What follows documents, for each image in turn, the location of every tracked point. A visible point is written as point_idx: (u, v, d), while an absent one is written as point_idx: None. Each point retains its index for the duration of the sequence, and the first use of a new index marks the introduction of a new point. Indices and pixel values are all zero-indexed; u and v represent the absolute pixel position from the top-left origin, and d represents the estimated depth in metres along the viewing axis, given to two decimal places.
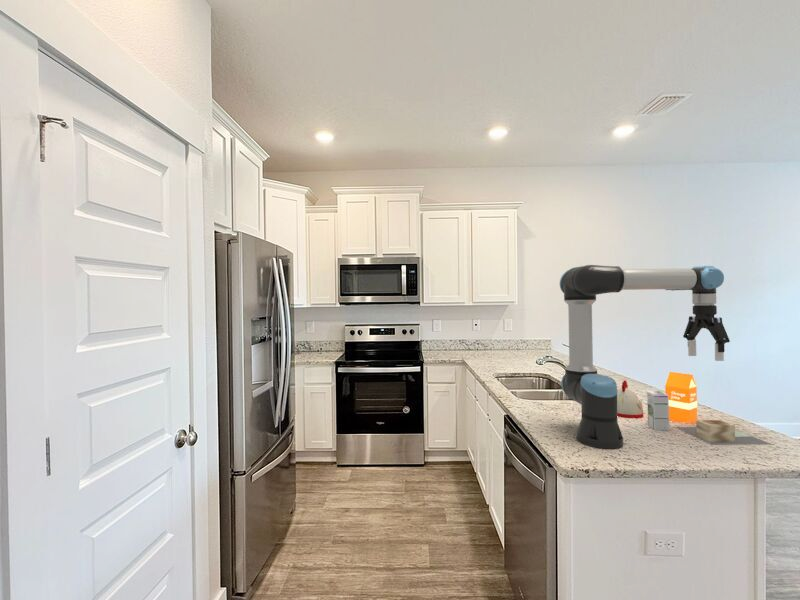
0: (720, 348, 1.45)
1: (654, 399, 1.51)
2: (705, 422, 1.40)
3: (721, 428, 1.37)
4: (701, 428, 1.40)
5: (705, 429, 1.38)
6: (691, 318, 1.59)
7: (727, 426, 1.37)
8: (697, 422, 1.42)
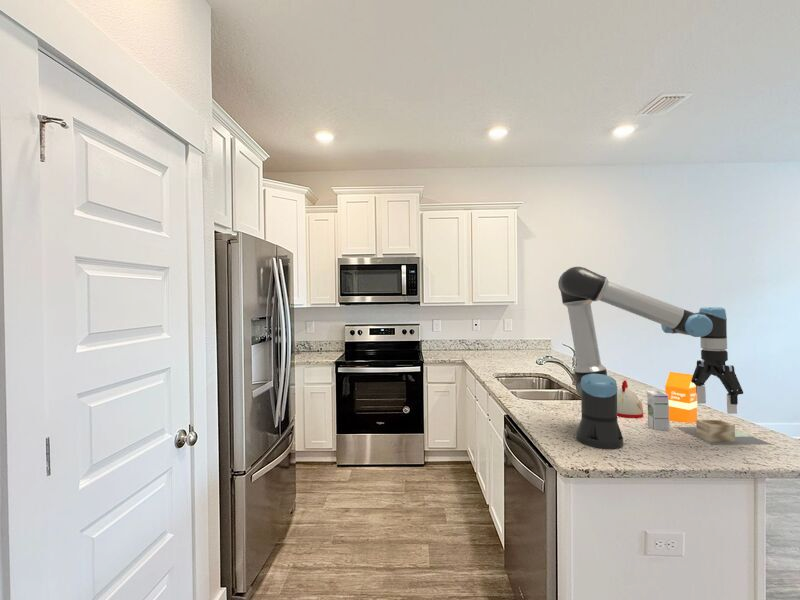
0: (733, 400, 1.32)
1: (654, 399, 1.51)
2: (705, 422, 1.40)
3: (721, 428, 1.37)
4: (701, 428, 1.40)
5: (705, 429, 1.38)
6: (699, 362, 1.46)
7: (727, 426, 1.37)
8: (697, 422, 1.42)
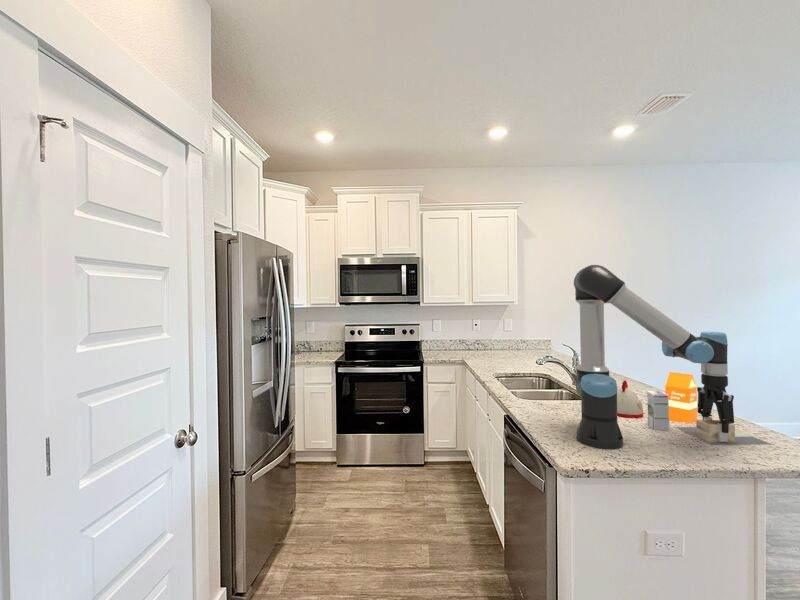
0: (724, 429, 1.35)
1: (654, 399, 1.51)
2: (705, 422, 1.40)
3: None
4: (701, 428, 1.40)
5: (705, 429, 1.38)
6: (700, 389, 1.45)
7: None
8: (697, 422, 1.42)
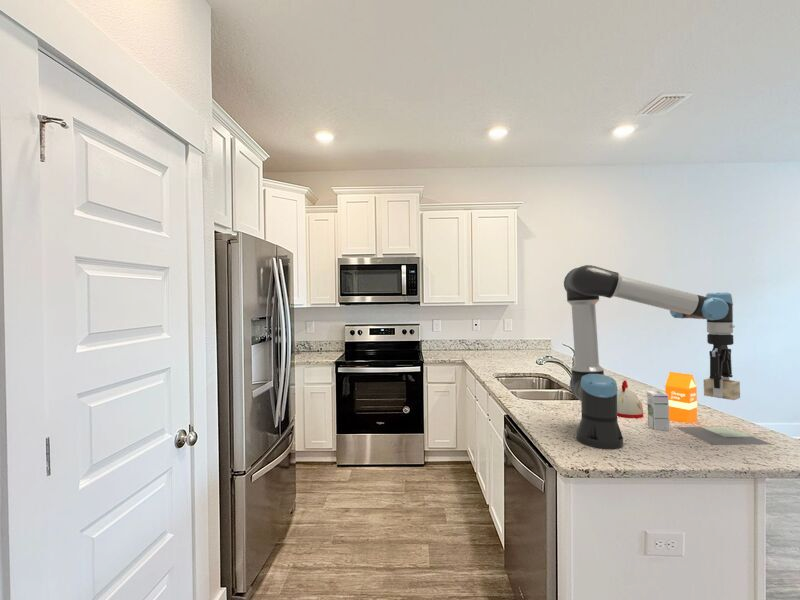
0: (714, 384, 1.42)
1: (654, 399, 1.51)
2: (710, 379, 1.47)
3: None
4: None
5: None
6: None
7: (724, 383, 1.40)
8: None
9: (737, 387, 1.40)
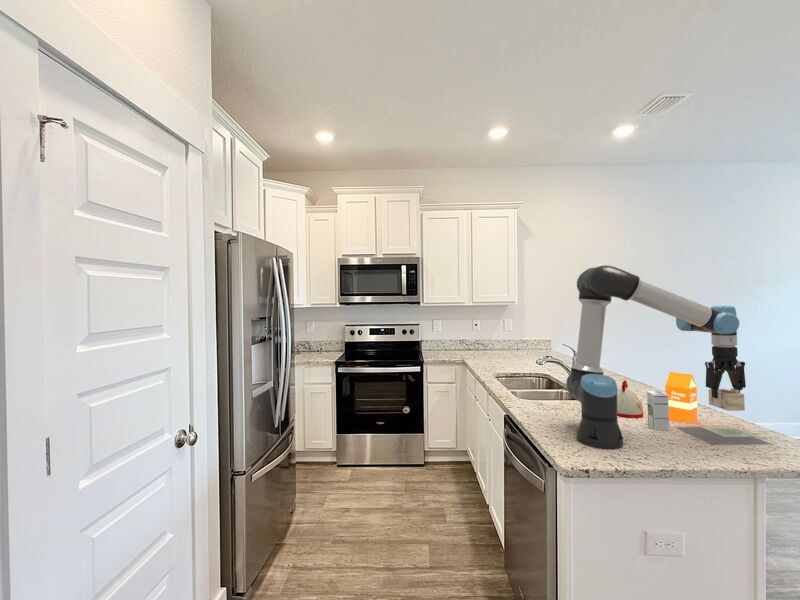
0: None
1: (654, 399, 1.51)
2: (718, 389, 1.51)
3: None
4: None
5: None
6: None
7: (722, 394, 1.45)
8: None
9: (736, 399, 1.43)
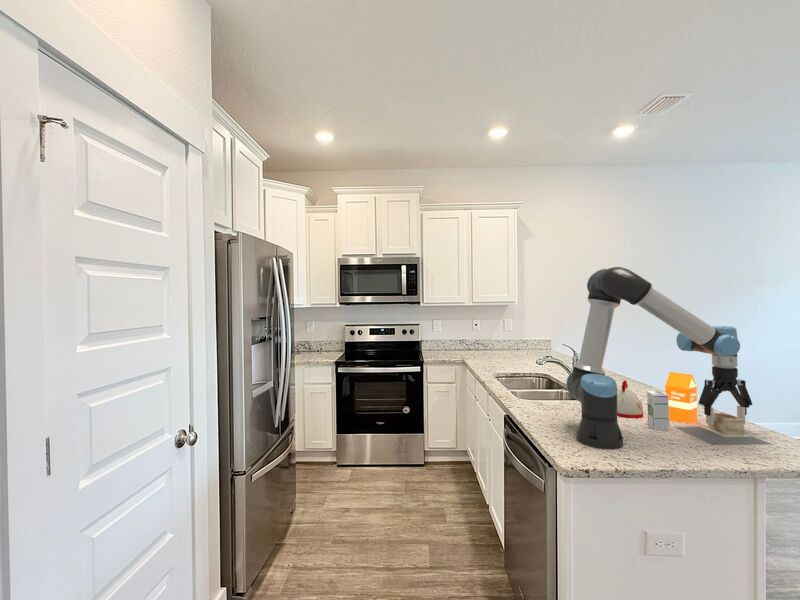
0: None
1: (654, 399, 1.51)
2: (718, 413, 1.51)
3: (716, 418, 1.47)
4: None
5: None
6: None
7: (721, 418, 1.45)
8: None
9: (736, 424, 1.43)
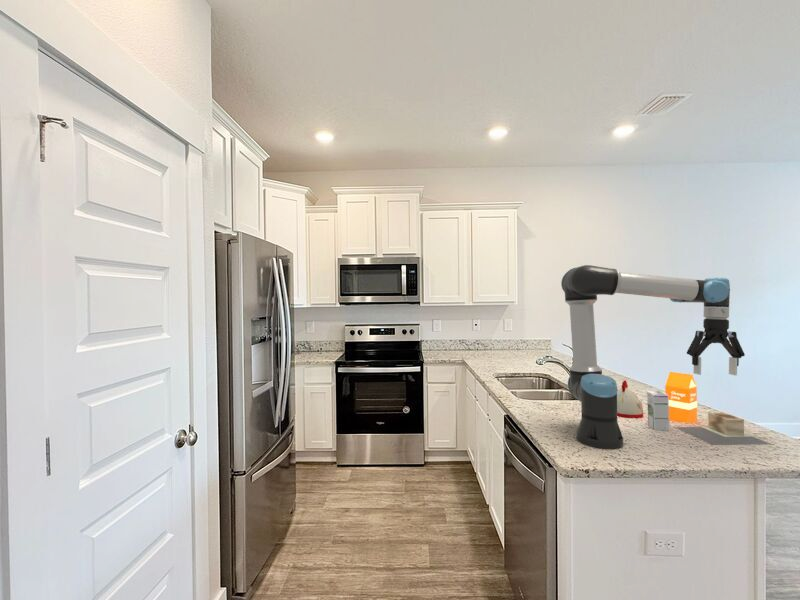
0: None
1: (654, 399, 1.51)
2: (718, 413, 1.51)
3: (716, 418, 1.47)
4: None
5: None
6: None
7: (721, 418, 1.45)
8: None
9: (736, 424, 1.43)
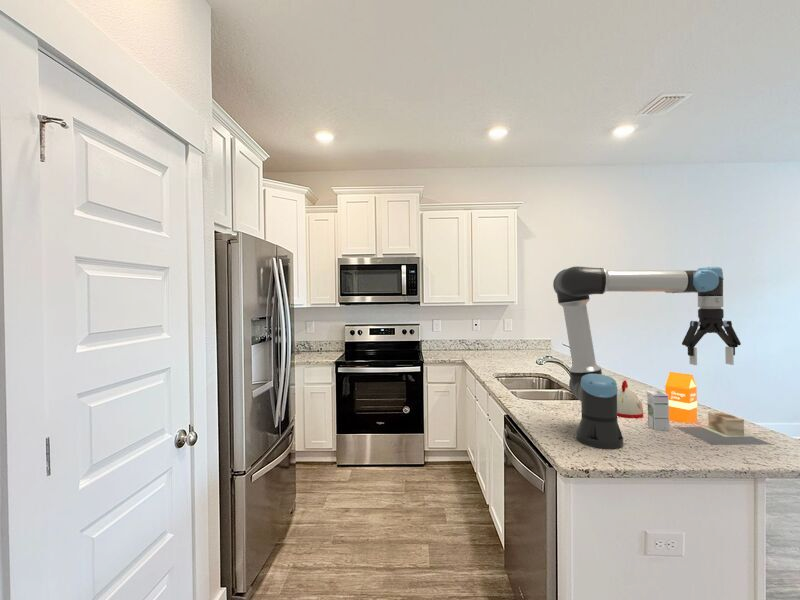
0: None
1: (654, 399, 1.51)
2: (718, 413, 1.51)
3: (716, 418, 1.47)
4: None
5: None
6: None
7: (721, 418, 1.45)
8: None
9: (736, 424, 1.43)
